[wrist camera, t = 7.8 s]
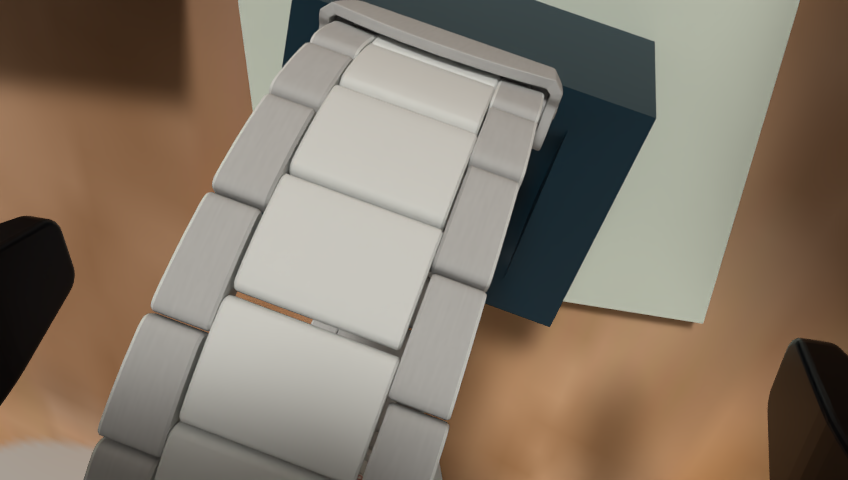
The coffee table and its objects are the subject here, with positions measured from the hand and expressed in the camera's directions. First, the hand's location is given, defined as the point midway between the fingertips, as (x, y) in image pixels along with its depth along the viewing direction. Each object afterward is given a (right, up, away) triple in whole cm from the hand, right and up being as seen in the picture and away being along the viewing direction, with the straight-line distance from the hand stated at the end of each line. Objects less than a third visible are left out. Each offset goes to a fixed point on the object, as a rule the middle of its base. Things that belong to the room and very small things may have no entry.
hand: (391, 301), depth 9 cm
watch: (+1, +4, +6) cm, 7 cm away
